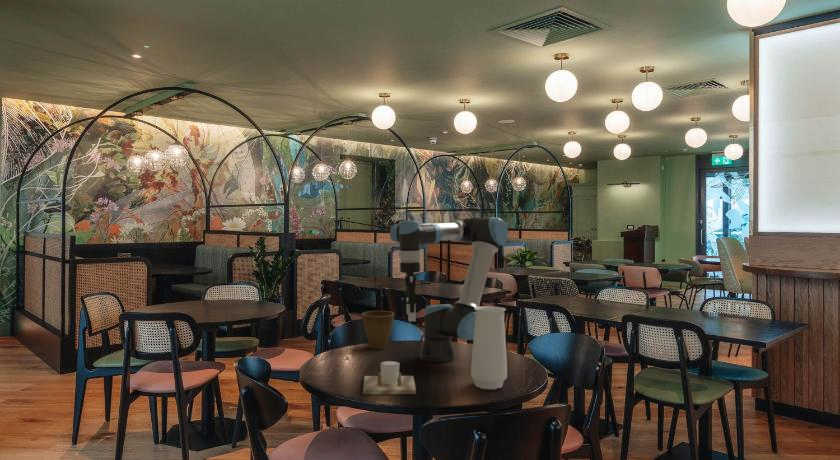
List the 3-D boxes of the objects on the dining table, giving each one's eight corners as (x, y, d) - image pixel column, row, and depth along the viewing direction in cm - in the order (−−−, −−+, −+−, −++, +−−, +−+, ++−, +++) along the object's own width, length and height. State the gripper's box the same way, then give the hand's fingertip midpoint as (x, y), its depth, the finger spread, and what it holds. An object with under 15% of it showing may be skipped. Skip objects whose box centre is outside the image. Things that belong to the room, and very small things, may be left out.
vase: (497, 392, 206) (498, 312, 206) (464, 386, 213) (465, 309, 213) (512, 384, 217) (513, 307, 217) (480, 378, 224) (481, 304, 224)
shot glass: (402, 380, 214) (402, 361, 214) (395, 386, 208) (395, 366, 208) (384, 379, 217) (384, 359, 216) (377, 384, 210) (377, 364, 210)
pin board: (413, 379, 222) (413, 369, 222) (415, 394, 204) (415, 382, 204) (364, 379, 221) (364, 369, 221) (362, 394, 203) (363, 382, 203)
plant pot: (365, 343, 284) (366, 310, 284) (396, 344, 282) (396, 311, 282) (358, 350, 269) (358, 315, 269) (390, 351, 267) (390, 316, 267)
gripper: (398, 258, 236) (399, 311, 237) (401, 265, 211) (402, 324, 212) (417, 258, 236) (418, 310, 237) (422, 264, 211) (423, 323, 213)
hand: (411, 317), depth 225 cm, fingers open, 13 cm apart
